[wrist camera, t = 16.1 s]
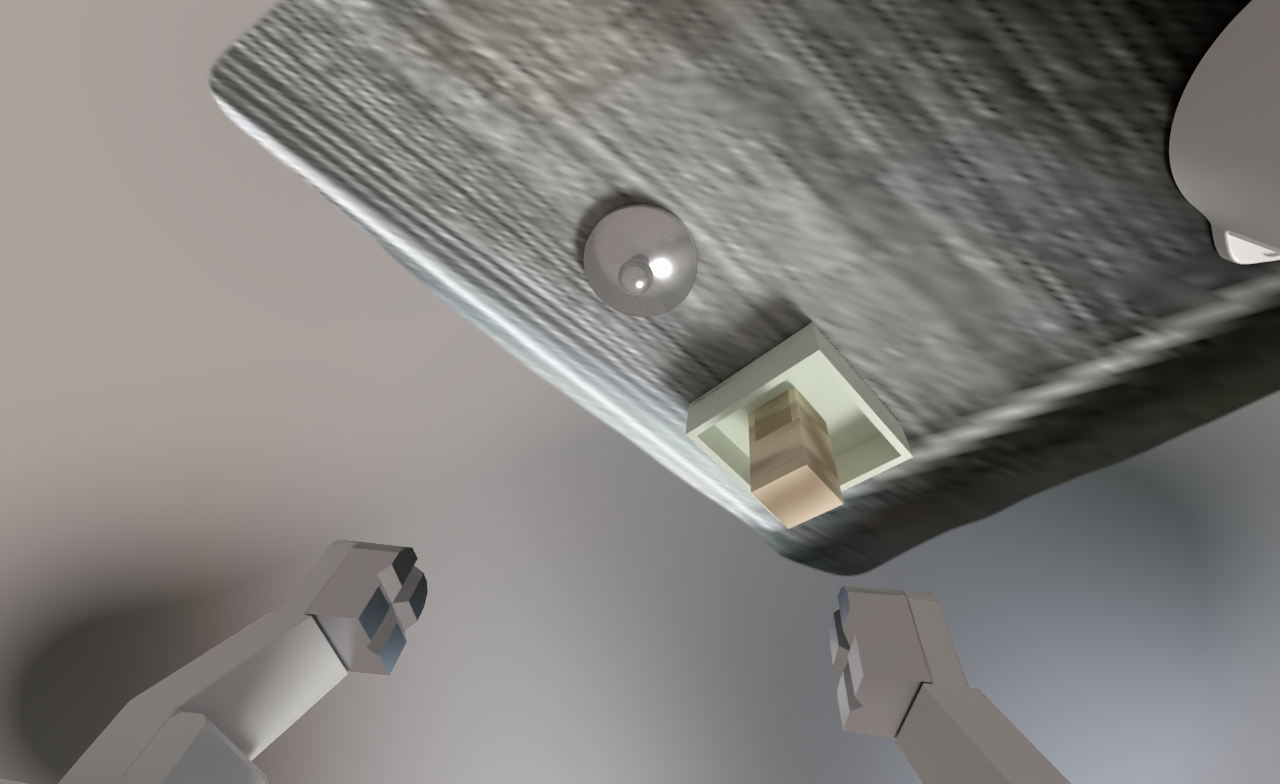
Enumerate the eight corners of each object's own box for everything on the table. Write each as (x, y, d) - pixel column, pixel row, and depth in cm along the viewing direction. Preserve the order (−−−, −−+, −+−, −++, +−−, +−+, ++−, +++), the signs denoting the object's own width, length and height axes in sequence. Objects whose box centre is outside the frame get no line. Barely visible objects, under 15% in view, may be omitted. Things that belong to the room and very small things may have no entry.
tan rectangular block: (825, 422, 45) (843, 503, 38) (779, 446, 47) (788, 528, 40) (794, 386, 43) (806, 464, 36) (748, 413, 45) (750, 492, 38)
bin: (812, 321, 41) (819, 349, 37) (900, 423, 45) (913, 456, 41) (689, 404, 46) (685, 434, 43) (776, 487, 50) (779, 521, 47)
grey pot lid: (698, 203, 37) (695, 224, 33) (696, 312, 41) (693, 340, 38) (581, 203, 38) (566, 223, 35) (591, 309, 43) (579, 336, 39)
